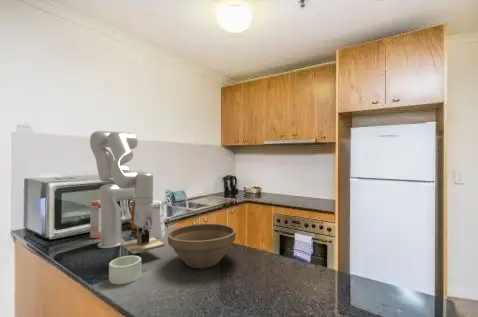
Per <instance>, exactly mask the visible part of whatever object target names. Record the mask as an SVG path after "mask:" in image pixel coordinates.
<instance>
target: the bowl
mask: <svg viewBox="0 0 478 317" xmlns="http://www.w3.org/2000/svg"><path fill="white" fill-rule="evenodd" d="M142 262H143V261H142V257H140V256H139V255H134V254H132V255H124V256H120V257H117V258H115V259H112V260H111V261H110V262H109V263H108V282H110V284H114V285H126V284H129V283H132V282H136V281H137V280H138V279H141V276H142V273H143V272H142V268H143V267H142Z"/></svg>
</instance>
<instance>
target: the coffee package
mask: <svg viewBox="0 0 478 317" xmlns="http://www.w3.org/2000/svg"><path fill="white" fill-rule="evenodd" d="M134 210H135V198H134V200H133V201H132V204H131V214H130V217H131V230H137V225H135V224H134Z"/></svg>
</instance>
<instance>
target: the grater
mask: <svg viewBox="0 0 478 317" xmlns="http://www.w3.org/2000/svg"><path fill="white" fill-rule="evenodd" d="M155 202H157V203H159V204H160V205H159V206H160V207H158V206H157V207H152V226H151V230H150V234H149V236H152V237H154V238H156V239H162V238H164V236H165V234H166V228H165V227H166V226H165V219H164V211H163V207H162V206H163V205H162V201H161V200H153V203H155ZM145 226H147V225H145ZM145 229H147V228H145Z"/></svg>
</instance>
